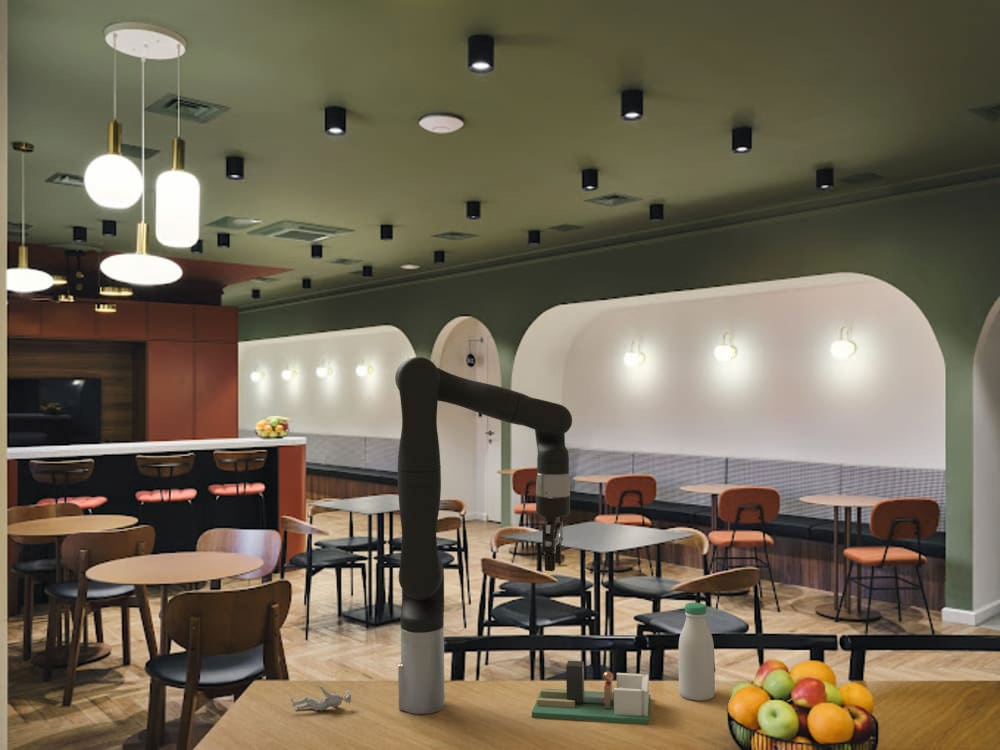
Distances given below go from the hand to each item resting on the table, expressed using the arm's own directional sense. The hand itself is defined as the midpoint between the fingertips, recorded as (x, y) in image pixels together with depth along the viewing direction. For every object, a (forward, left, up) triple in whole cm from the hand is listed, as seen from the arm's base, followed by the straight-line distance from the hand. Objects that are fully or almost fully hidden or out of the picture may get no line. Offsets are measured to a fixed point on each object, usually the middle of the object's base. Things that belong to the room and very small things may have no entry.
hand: (552, 566), depth 193 cm
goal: (+17, -6, -28) cm, 33 cm away
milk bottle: (+31, +5, -29) cm, 43 cm away
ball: (+15, -6, -26) cm, 30 cm away
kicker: (+9, -6, -27) cm, 29 cm away
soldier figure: (-48, -16, -29) cm, 58 cm away
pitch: (+9, -6, -29) cm, 31 cm away
